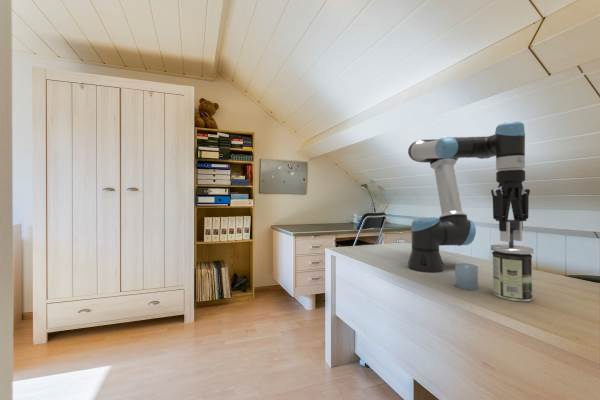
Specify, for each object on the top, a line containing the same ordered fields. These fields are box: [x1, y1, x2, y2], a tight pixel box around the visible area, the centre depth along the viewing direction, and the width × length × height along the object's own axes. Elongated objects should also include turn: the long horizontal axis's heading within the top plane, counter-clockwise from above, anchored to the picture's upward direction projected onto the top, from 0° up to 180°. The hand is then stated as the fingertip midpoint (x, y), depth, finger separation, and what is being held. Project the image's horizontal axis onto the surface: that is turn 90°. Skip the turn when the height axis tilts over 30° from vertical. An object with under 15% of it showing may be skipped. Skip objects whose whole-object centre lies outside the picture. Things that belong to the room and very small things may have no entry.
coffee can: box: [491, 251, 533, 303], centre depth 88 cm, size 10×10×14 cm
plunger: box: [490, 219, 534, 255], centre depth 88 cm, size 11×11×10 cm
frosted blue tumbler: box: [454, 262, 479, 292], centre depth 97 cm, size 7×7×8 cm
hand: (511, 240), depth 88 cm, fingers closed on plunger, 4 cm apart
